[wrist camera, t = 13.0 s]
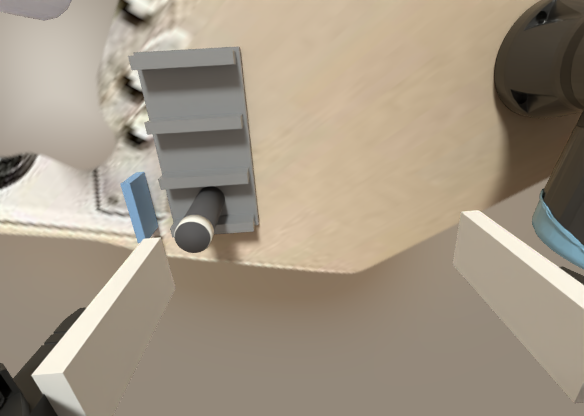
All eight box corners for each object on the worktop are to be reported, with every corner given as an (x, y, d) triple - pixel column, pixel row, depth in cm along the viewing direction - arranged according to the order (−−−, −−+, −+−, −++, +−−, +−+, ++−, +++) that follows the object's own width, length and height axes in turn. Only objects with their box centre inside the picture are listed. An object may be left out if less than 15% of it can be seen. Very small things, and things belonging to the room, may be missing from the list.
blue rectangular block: (144, 172, 45) (129, 183, 41) (158, 226, 49) (146, 242, 45) (135, 172, 45) (120, 184, 41) (150, 226, 49) (138, 243, 45)
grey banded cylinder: (223, 184, 46) (207, 220, 35) (227, 210, 48) (213, 252, 37) (194, 186, 46) (170, 222, 35) (199, 212, 47) (177, 254, 36)
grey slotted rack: (239, 47, 39) (236, 44, 36) (258, 222, 50) (257, 234, 46) (136, 52, 39) (122, 51, 35) (177, 227, 49) (169, 240, 46)
